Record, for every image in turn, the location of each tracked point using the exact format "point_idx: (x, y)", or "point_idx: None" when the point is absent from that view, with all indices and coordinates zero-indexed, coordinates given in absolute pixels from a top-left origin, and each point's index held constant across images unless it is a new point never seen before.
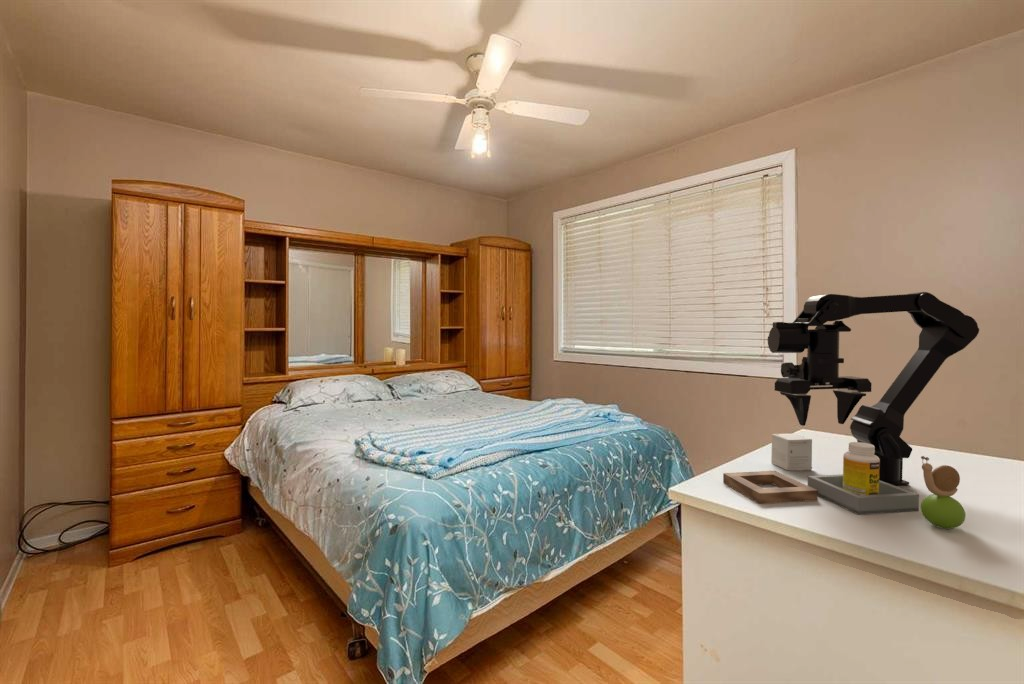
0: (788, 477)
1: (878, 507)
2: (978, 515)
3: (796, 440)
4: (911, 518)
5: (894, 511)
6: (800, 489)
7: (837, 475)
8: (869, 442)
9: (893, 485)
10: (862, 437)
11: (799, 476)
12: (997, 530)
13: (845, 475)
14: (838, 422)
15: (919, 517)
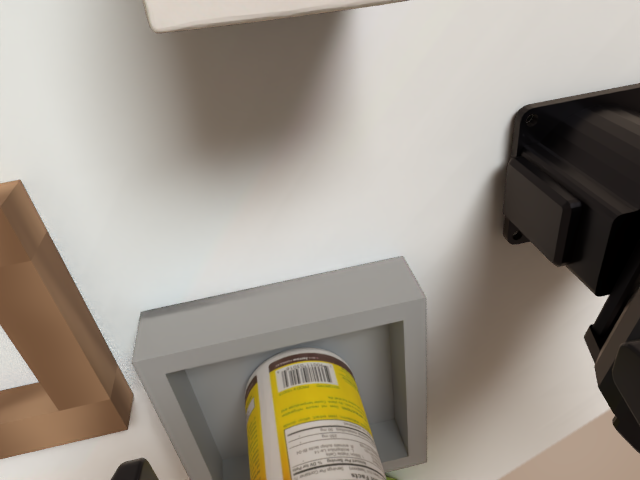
0: (49, 312)
1: None
2: (535, 414)
3: (252, 21)
4: None
5: None
6: (54, 434)
7: (288, 338)
8: (599, 364)
9: (423, 409)
10: (628, 337)
11: (201, 110)
12: (479, 474)
13: (249, 460)
14: (625, 351)
15: None
